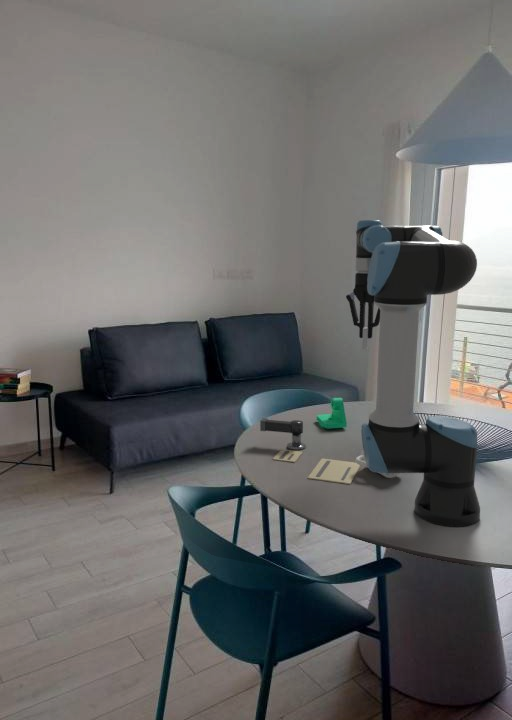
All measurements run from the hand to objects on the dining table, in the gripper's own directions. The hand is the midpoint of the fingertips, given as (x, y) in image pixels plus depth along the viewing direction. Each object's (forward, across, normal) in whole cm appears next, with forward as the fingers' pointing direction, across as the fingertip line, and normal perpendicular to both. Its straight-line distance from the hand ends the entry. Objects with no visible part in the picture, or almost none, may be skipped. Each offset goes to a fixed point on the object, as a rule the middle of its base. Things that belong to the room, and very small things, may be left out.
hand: (365, 348), depth 183 cm
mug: (+33, -8, +20) cm, 39 cm away
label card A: (+32, +20, +16) cm, 41 cm away
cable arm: (+28, +25, +7) cm, 38 cm away
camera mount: (+33, +15, -20) cm, 41 cm away
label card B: (+32, +4, +23) cm, 40 cm away
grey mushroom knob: (+32, +20, +7) cm, 39 cm away
